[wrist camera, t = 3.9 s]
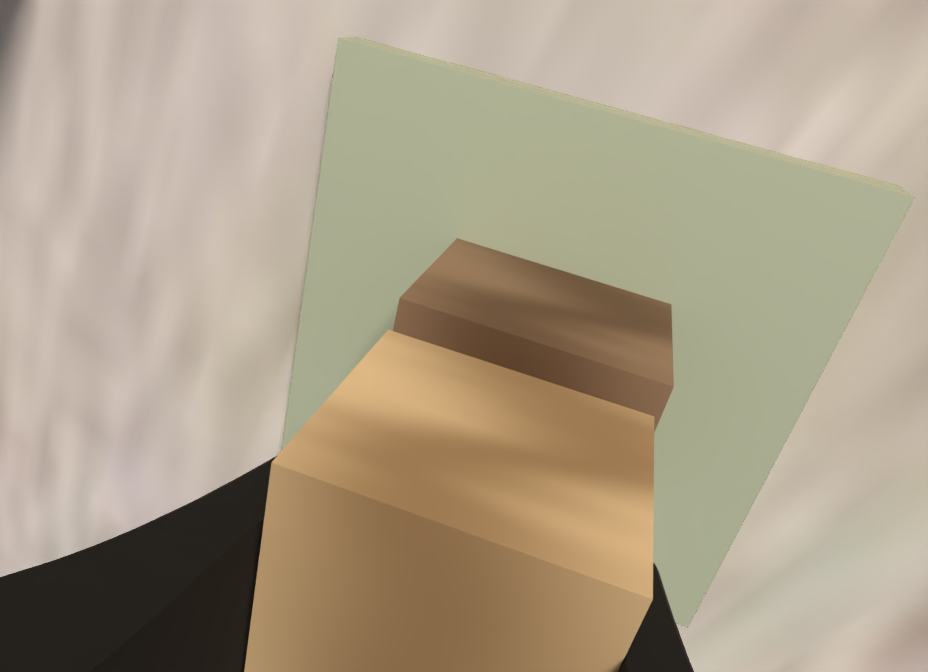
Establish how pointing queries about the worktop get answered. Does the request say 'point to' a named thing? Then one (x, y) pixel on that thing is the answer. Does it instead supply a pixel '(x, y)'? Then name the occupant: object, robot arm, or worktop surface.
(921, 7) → the worktop surface
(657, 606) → the robot arm
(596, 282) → the walnut block
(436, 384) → the oak block
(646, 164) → the build board
